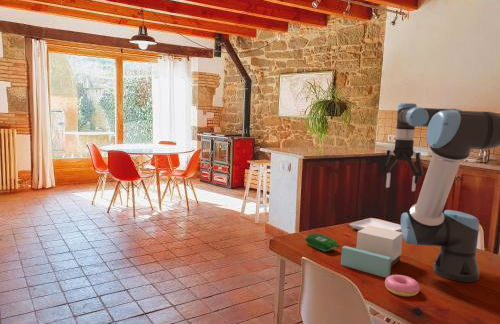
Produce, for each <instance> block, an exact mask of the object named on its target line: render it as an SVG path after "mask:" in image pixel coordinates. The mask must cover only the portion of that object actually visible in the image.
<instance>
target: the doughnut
mask: <svg viewBox="0 0 500 324" xmlns="http://www.w3.org/2000/svg"><path fill="white" fill-rule="evenodd" d="M384 285H385V288H386V289H387V291H389V292H390V293H392V294H394V295H397V296H400V297H407V298H408V297H413V296H416V295H417V294H419V292H420V290H421V287H420V284H419V283H418V281H417V280H416V279H414V278H413V277H410V276H407V275H403V274H392V275H391V274H390V276H389V277H387V278H385V280H384Z"/></svg>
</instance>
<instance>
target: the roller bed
mask: <svg viewBox="0 0 500 324" xmlns="http://www.w3.org/2000/svg"><path fill="white" fill-rule="evenodd" d="M400 261H401V255H399V256H398V257H397V258H396V259H395V260H394V261H392V262H391V268H390V269H392V268H393V266H395V265H396V264H398V262H400Z"/></svg>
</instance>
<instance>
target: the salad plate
mask: <svg viewBox="0 0 500 324" xmlns="http://www.w3.org/2000/svg"><path fill="white" fill-rule="evenodd" d="M349 226H350V227H352V228H353V229H356V230H357V231H360V230H362V229H363V228H365V227H367V226H374V227H379V228H383V229H388V230H393V231H397V232H402V231H401V224H399V223H396V222H395V223H394V222H391V221H387V220H383V219H377V218H373V217H369V218H364V219H362V220H361V219H360V220H357V221H354V222H351V223H349Z"/></svg>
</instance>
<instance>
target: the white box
mask: <svg viewBox="0 0 500 324" xmlns="http://www.w3.org/2000/svg"><path fill="white" fill-rule="evenodd" d="M402 247H403V235H402V231H401V232H397V231H393V230H388V229H383V228H379V227H374V226H367V227H365V228H363V229H362V230H357V236H356V246H355V248H356V249H360V250H364V251H368V252H372V253H375V254H379V255H383V256H387V257H391V262H392V261H394V260H395V259H396V258H397V257H398V256H399V255H400V256H401V255H402Z"/></svg>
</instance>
